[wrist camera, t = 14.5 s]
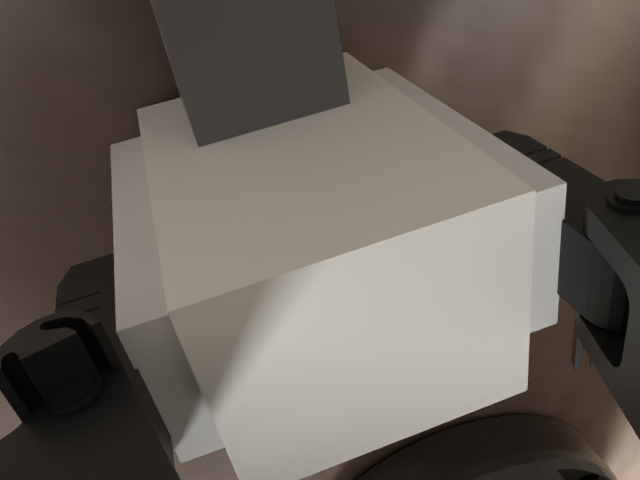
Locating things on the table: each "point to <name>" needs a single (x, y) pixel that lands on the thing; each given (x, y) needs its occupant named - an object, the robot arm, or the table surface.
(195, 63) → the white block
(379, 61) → the table surface
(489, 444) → the robot arm
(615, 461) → the table surface
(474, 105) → the table surface
